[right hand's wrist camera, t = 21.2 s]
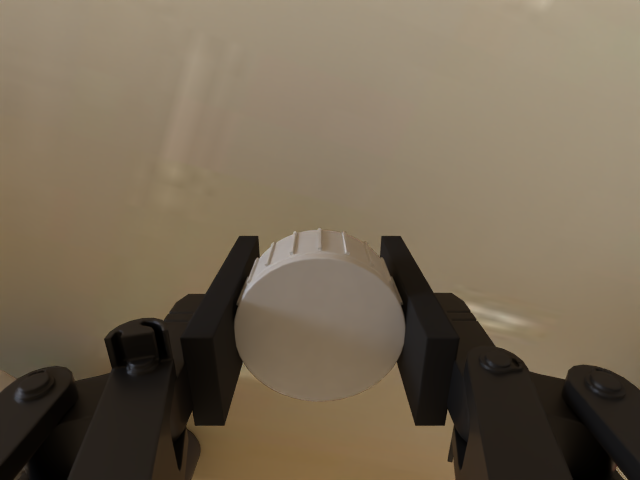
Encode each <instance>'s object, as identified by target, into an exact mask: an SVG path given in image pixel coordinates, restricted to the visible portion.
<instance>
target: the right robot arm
mask: <svg viewBox="0 0 640 480" xmlns="http://www.w3.org/2000/svg"><path fill="white" fill-rule="evenodd" d="M257 257H258V258H260V254H259V239H258V236H239V238H238V239H237V241H236V243H235V244H234V246H233V248H232V250H231V251H230V253H229V255H228V256H227V258H226V260H225V262H224V263H223V265H222V267H221V268H220V270H219V272H218V274H217V275H216V277H215V279H214V280H213V282H212V284H211V286H210V287H209V289H208V291H207V292H206V294H188V295H186V296H185V297H184V298H182V299H181V300H179V301H178V302H176V304H175V305H174V306H173V308H172V309H171V311H170V312H169V314H168V315H167V316H166V318H165V319H164V321H163V320H160V319H156V318H141V319H137V320H132V321H129V322H127V323H124V324H122V325H119V326H118V327H116V328H115V329H113V330H112V331H110V332H109V334H108V335H107V336H106V337H105V339H104V340H105V344H106V348H107V352H108V355H109V359H110V363H111V367H112V370H111V373H108V374H105V375H101V376H96V377H92V378H87V379H83V380H78V381H75V380H74V377H73V374H72V372H71V371H70V370H69V369H67V368H66V367H59V366H54V367H47V368H42V369H38V370H35V371H32V372H30V373H28V374H26V375H24V376H22V377H20V378H18V379H16V380H15V381H14V382H12V383H11V384H10V385H8V386H7V387H6V388H4V389H3V390H2V391H1V392H0V480H14V479H15V477H16V476H17V475H18V474H19V472H20V471H21V470H22V469H23V467H24V470H25V471H24V472H23V474H22V475H21V476H20V478H19V479H18V480H185V470H186V460H187V449H188V434H187V428H186V424H187V422H188V419H189V417H190V414H191V412H192V411H193V417H194V422H195V426H224V425H225V422H226V418H227V415H228V411H229V408H230V405H231V401H232V398H233V394H234V391H235V387H236V384H237V381H238V377H239V374H240V370H241V367H242V363H243V361H242V359H241V357H240V355H239V353H238V350H237V347H236V340H235V330H234V319H235V315H236V311H237V308H238V305H237V301H238V298H239V296H240V293H241V291H242V289H243V286H244V284H245V281H246V279H247V277H249V275H250V273H251V270H252V267H253V265H254V262H255V260H256V258H257ZM381 257H382V258H383V259H384V261H385V264H386V266H387V269H388V271H389V274H390V276H392V277H393V280H394V282H395V285H396V287H397V290H398V292H399V294H400V297H401V299H402V302H403V305H401V307H402V310H403V313H404V317H405V323H406V327H405V338H404V345H403V349H402V352H401V354H400V356H399V358H398V360H397V364H398V368H399V371H400V374H401V378H402V381H403V385H404V388H405V392H406V395H407V398H408V402H409V405H410V409H411V412H412V416H413V419H414V422H415V426H445V421H446V415H447V410H448V411H449V413H450V416H451V418H452V420H453V423H454V428H453V433H452V439H451V444H450V449H449V455H448V462H452V461H453V459H454V469H455V479H456V480H624V479H623V478H622V477H621V476H620V474H619V473H618V472H617V471H616V467H617V466H618V467H619V469H620V470H621V471H622V472H623V474H624V475H625V476H626V477H627V479H628V480H640V390H639V389H638V388H637V387H636V386H634V385H633V384H632V383H630V382H629V381H628V380H626V379H625V378H623V377H621V376H619V375H617V374H616V373H614V372H612V371H610V370H607V369H603V368H600V367H597V366H590V365H578V366H573V367H572V368H571V369H570V370H568V373H567V376H566V379H565V380H564V379H560V378H555V377H551V376H546V375H541V374H537V373H534V372H530V371H529V370H528V368H527V366H526V365H525V363H524V362H523V361H522V360H521V359H520V358H518V357H517V356H516V355H515V354H513V353H511V352H509V351H507V350H505V349H502V348H498V347H496V346H495V345H494V343H493V342H492V341H491V339H490V338H489V336H488V335H487V334H486V332H485V331H484V329H483V328H482V327H481V325H480V324H479V322H478V321H476V318H475V317H474V315H473V314H472V313H471V312H470V310H469V308H468V307H467V305H466V304H465V302H464V301H463V300H461V299H460V298H458V297H457V296H455V295H454V294H452V293H433V291H432V289H431V288H430V286H429V284H428V282H427V281H426V279H425V277H424V276H423V274H422V272H421V270H420V269H419V267H418V265H417V264H416V262H415V260H414V258H413V257H412V255H411V253H410V252H409V250H408V248H407V246H406V245H405V243H404V241H403V240H402V238H401V236H381V251H380V258H381Z"/></svg>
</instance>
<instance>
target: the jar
mask: <svg viewBox="0 0 640 480" xmlns="http://www.w3.org/2000/svg"><path fill="white" fill-rule="evenodd" d="M187 434H188V449H187V460H186V470H185V480H191V479H192V476H193V473H194V470H195V467H196V464H197V462H198V459H199V456H200V445H199V442H198V440H197V439H196V437H195V436H194V435H193V434H192V433H191V432H190V431H189V430H187Z"/></svg>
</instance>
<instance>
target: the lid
mask: <svg viewBox="0 0 640 480" xmlns="http://www.w3.org/2000/svg"><path fill="white" fill-rule="evenodd" d="M237 305H238V308H237V311H236V315H235V319H234V330H235V340H236V347H237V350H238V353H239V355H240V357H241V359H242V361H243V363H244V364H245V366H246V367H247V368H248V370H249V371H250V372H251V373H252V374H253V375H254V376H255V377H256V378H257V379H258V380H259V381H261V382H262V383H263V384H264V385H266V386H268V387H269V388H271V389H272V390H274V391H276V392H279V393H281V394H283V395H286V396H289V397H292V398H296V399H300V400H307V401H333V400H339V399H344V398H347V397H351V396H354V395H356V394H359V393H361V392H363V391H365V390H367V389H369V388H371V387H372V386H374V385H375V384H376V383H378V382H379V381H380V380H381V379H383V378H384V377H385V376H386V375H387V374H388V373H389V371H390V370H391V369H392V368H393V366H394V365H395V363H396V362H397V360H398V358H399V356H400V354H401V352H402V349H403V345H404V338H405V327H406V323H405V317H404V313H403V310H402V307H401V305H403V302H402V299H401V297H400V294H399V292H398V290H397V287H396V285H395V282H394V280H393V277H392V276H390V274H389V271H388V269H387V266H386V264H385V261H384V259H383V258H382V257H381V258H380V257H379V256H378V255H377V254H376V253H375V252H374V251H373V250H372V249H371V248H370V247H369V246H368V243H367V242H364V243H363V242H362V241H360V240H358V239H357V238H354V237H352V236H350V235H348V234H346V232H344V231H343V232H342V233H341V232H337V231H331V230H321V228H318V230H308V231H303V232H299V233H297V232H296V231H295V232H293V234H292V235H290V236H287V237H285V238H283V239H281V240H279V241H278V242H276V243H275V242H273V243H272V244H271V247H270V248H269V249H267V250H266V251H265V252H264V253H263V255H262V256H261V257H260V258H258V257H257V258H256V260H255V262H254V265H253V267H252V270H251V273H250V275H249V277H247V279H246V281H245V284H244V286H243V289H242V291H241V293H240V296H239V298H238V301H237Z"/></svg>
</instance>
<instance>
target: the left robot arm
mask: <svg viewBox="0 0 640 480" xmlns="http://www.w3.org/2000/svg"><path fill="white" fill-rule="evenodd" d="M15 380H16V378H14V377H12V376H11V375H9V374H8V373H6V372H4V371H2V370H0V392H1V391H2V390H3V389H4V388H6V387H7V386H8V385H10V384H11V383H12V382H14V381H15ZM24 471H25V470H24V467H23V469H22V470H21V471H20V472H19V474H18V475H17V476H16V477H15V479H14V480H18V479H19V478H20V476H21V475H22V474H23V472H24Z"/></svg>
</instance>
